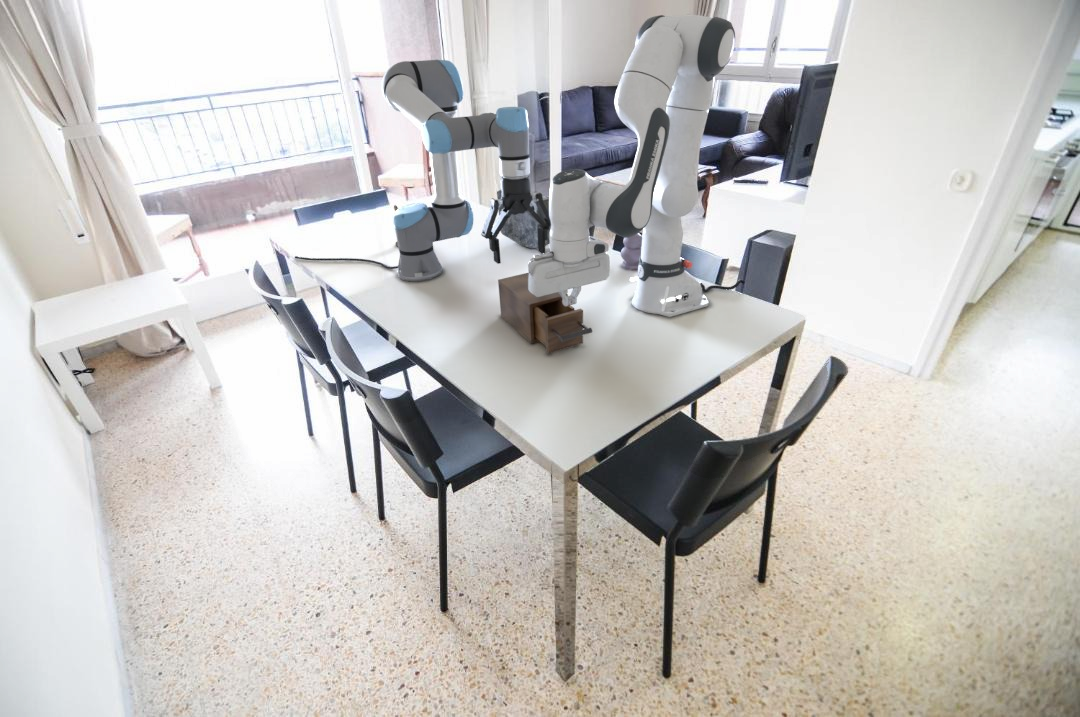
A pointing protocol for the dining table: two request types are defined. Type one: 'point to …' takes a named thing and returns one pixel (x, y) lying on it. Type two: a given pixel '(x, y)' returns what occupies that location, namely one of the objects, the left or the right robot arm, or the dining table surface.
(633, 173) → the right robot arm
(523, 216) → the concrete block
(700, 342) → the dining table surface
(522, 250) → the dining table surface
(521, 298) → the cabinet
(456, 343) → the dining table surface
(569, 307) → the drawer
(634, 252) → the cat figurine
